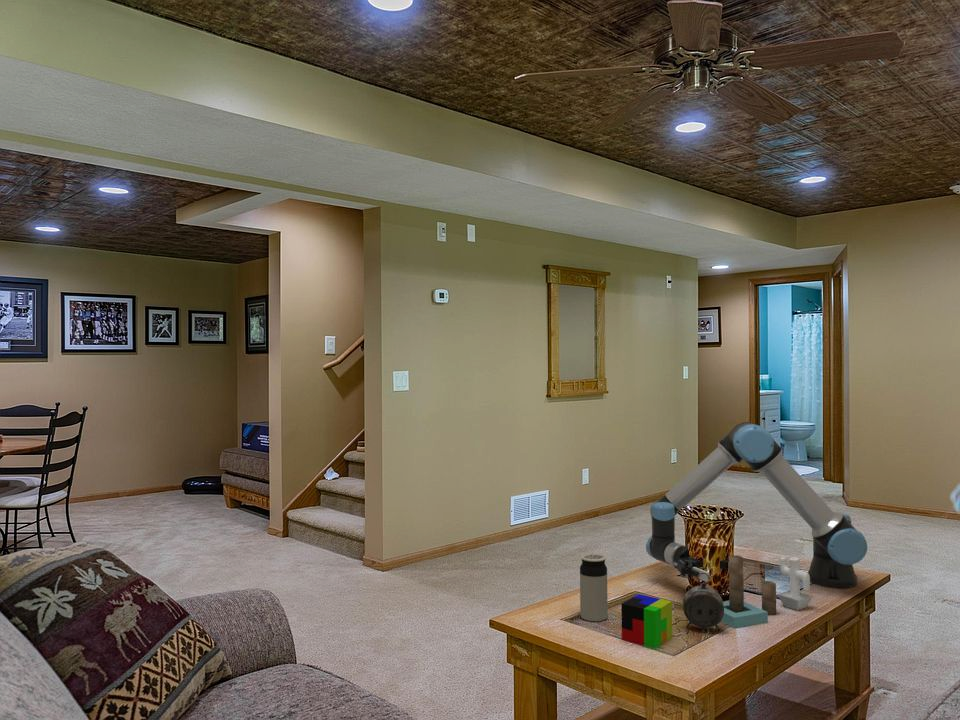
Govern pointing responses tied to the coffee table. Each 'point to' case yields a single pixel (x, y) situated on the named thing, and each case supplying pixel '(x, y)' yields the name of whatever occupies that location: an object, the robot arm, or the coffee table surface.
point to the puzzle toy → (646, 621)
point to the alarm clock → (703, 606)
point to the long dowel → (736, 584)
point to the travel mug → (593, 588)
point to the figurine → (794, 584)
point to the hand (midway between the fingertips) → (726, 574)
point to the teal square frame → (744, 616)
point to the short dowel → (769, 597)
